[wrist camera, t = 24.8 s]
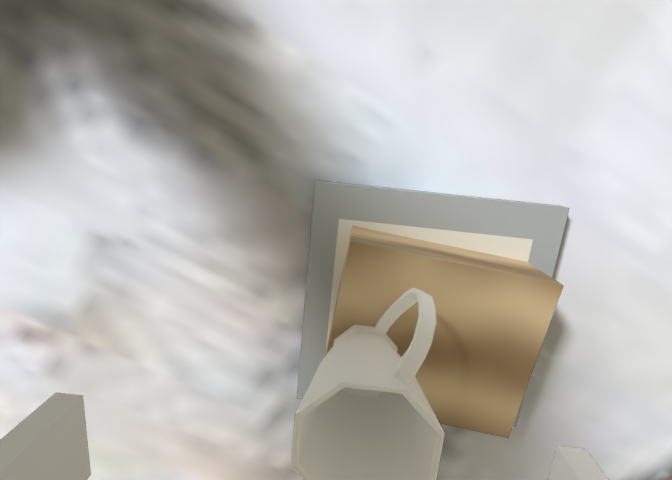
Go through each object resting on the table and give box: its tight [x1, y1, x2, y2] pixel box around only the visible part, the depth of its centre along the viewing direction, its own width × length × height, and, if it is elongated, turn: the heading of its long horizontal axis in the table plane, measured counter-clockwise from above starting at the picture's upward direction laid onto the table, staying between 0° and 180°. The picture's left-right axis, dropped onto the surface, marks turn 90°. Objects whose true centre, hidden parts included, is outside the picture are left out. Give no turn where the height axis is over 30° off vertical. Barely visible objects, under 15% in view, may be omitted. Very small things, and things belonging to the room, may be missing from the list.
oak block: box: [325, 226, 563, 438], centre depth 26 cm, size 11×13×5 cm
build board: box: [297, 181, 569, 427], centre depth 29 cm, size 18×18×1 cm
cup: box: [291, 287, 445, 480], centre depth 20 cm, size 7×10×8 cm
